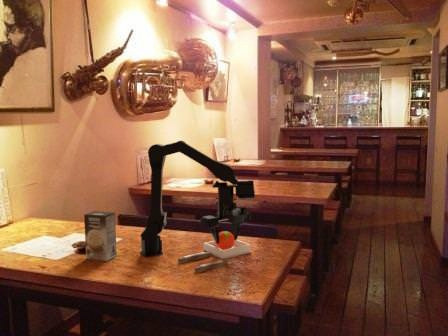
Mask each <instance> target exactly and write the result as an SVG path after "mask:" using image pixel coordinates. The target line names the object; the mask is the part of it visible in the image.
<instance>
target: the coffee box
mask: <svg viewBox="0 0 448 336" xmlns="http://www.w3.org/2000/svg"><path fill="white" fill-rule="evenodd" d="M83 219H84V241H85V259H86V260H94V261H103V262H104V261H105V262H108V261H110V260H111V259H114V258H116V257H117V256H118V255H117V253H118V252H117V227H116V226H117V225H116V212H113V211H101V210H93V211H90V212H88V213H85V214H83Z"/></svg>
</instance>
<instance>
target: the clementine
mask: <svg viewBox="0 0 448 336" xmlns="http://www.w3.org/2000/svg"><path fill="white" fill-rule="evenodd" d="M234 241H235V240H234V236H233V233H232V232H230V231H227V230H222V231H220V232H219V244H217V243H216V244H217V246H218V248H220V249H221V250H225V249H230V248H232V247H233V245H234Z"/></svg>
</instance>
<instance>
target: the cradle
mask: <svg viewBox="0 0 448 336" xmlns="http://www.w3.org/2000/svg"><path fill="white" fill-rule="evenodd" d="M210 257H211V254H210V252H205V251H201V252H197V253H192V254H189V255H183V256H182V257H178V258H177V261H178V262H177V263H178V264H185V263H189V262H194V261H197V260H202V259H206V258H210ZM225 266H226V267H227V266H228V260H227V259H221V260H217V261H212V262H208V263H203V264H200V265H199V266H195V267H194V273H195V274H198V273H202V272H205V271H209V270H214V269H217V268H222V267H225Z"/></svg>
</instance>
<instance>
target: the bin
mask: <svg viewBox="0 0 448 336" xmlns="http://www.w3.org/2000/svg"><path fill="white" fill-rule="evenodd" d="M203 252H204V253H205V252H210V255H212V256H214V257H215V258H219V259H221V260H227V259H229V258H233V257H238V256H242V255H246V254H250V253H251V244H250V243H247V242H244V241H241V240H239V239H237V240H235V241H234V245H233V247H232V248H230V249H225V250H221V249H220V248H218V246H217V244H216V242H215V240H212V241H208V242H207V241H206V242H204V243H203Z"/></svg>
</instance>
